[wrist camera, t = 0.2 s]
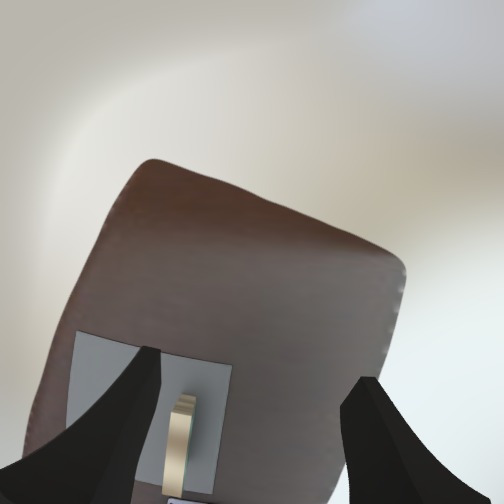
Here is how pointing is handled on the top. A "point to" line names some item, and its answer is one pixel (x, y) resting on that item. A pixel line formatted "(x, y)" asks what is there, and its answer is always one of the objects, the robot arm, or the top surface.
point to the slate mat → (173, 385)
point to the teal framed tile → (178, 445)
